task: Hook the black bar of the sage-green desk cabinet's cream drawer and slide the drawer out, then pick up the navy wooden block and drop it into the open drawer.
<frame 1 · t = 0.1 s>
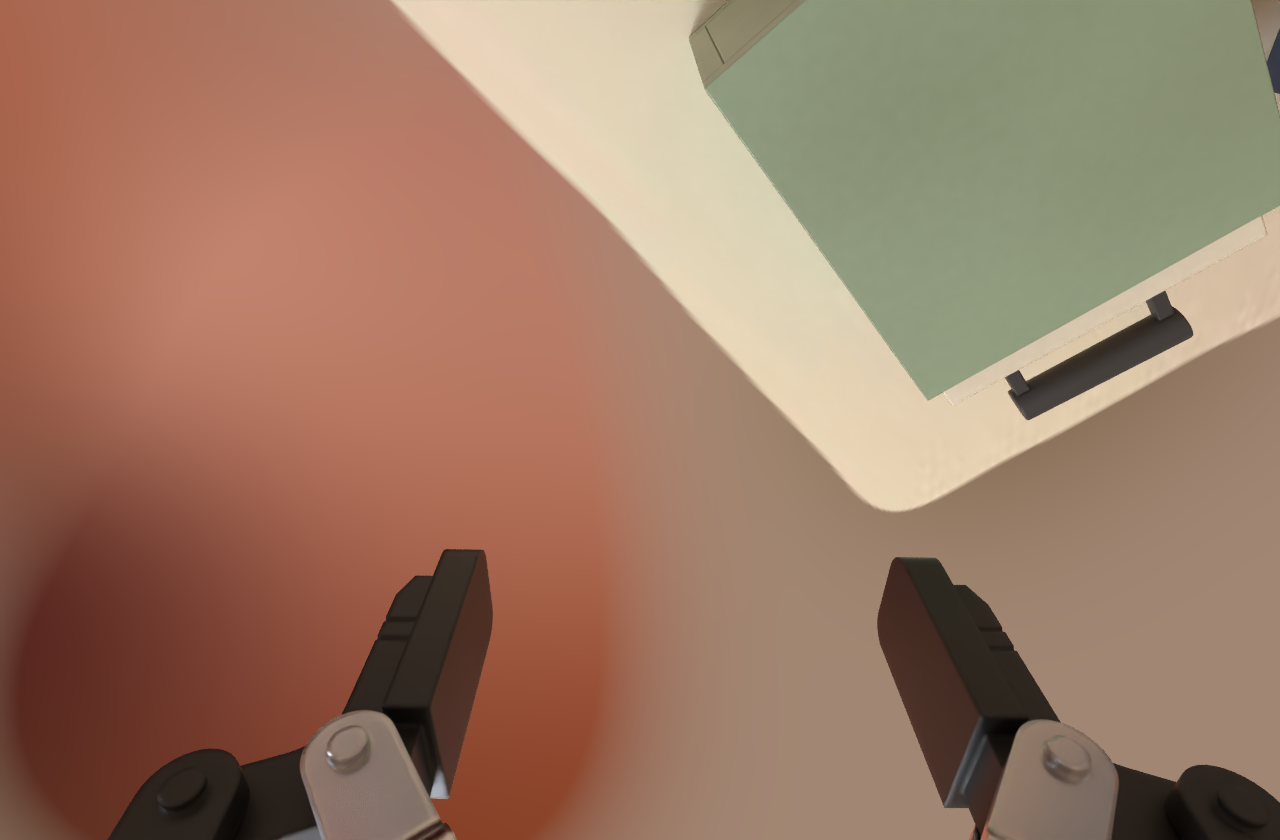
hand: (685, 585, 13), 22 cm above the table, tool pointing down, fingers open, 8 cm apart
cabinet: (914, 79, 28), on the table
drawer: (1009, 210, 26), point 5 cm above the table, slide at 0.5 cm
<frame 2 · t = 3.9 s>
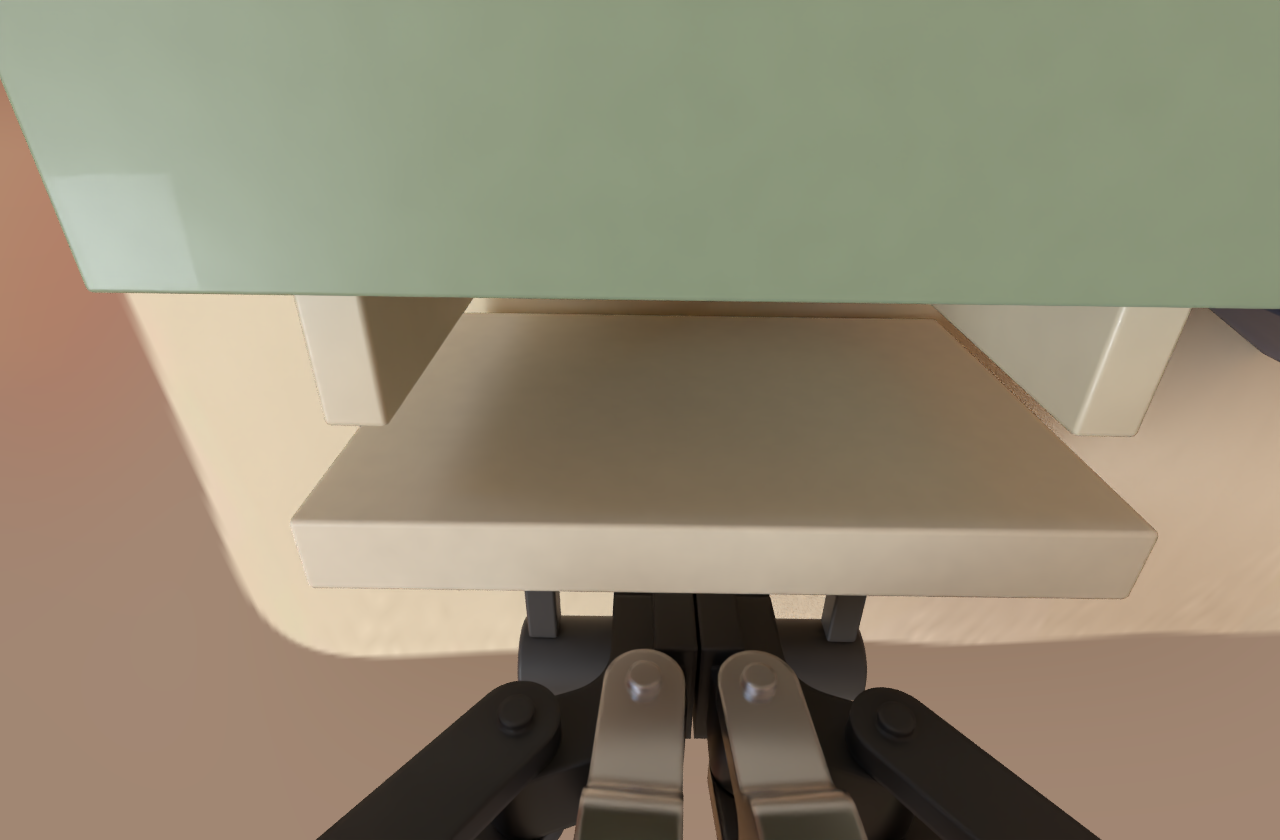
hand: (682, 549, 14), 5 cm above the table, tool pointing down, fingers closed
drawer: (712, 231, 11), point 5 cm above the table, slide at 3.4 cm, touching gripper
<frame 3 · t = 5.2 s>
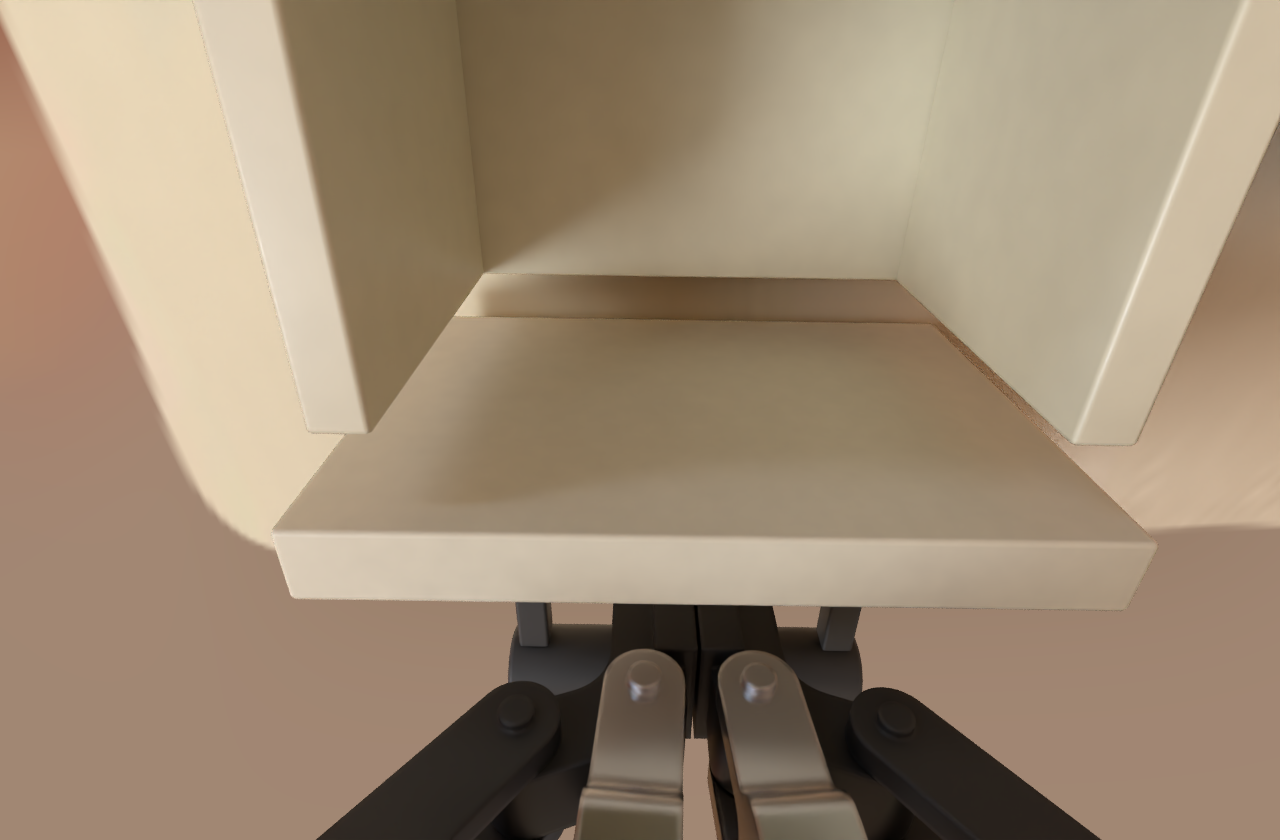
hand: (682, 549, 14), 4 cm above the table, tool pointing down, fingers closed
drawer: (705, 235, 10), point 5 cm above the table, slide at 8.0 cm, touching gripper
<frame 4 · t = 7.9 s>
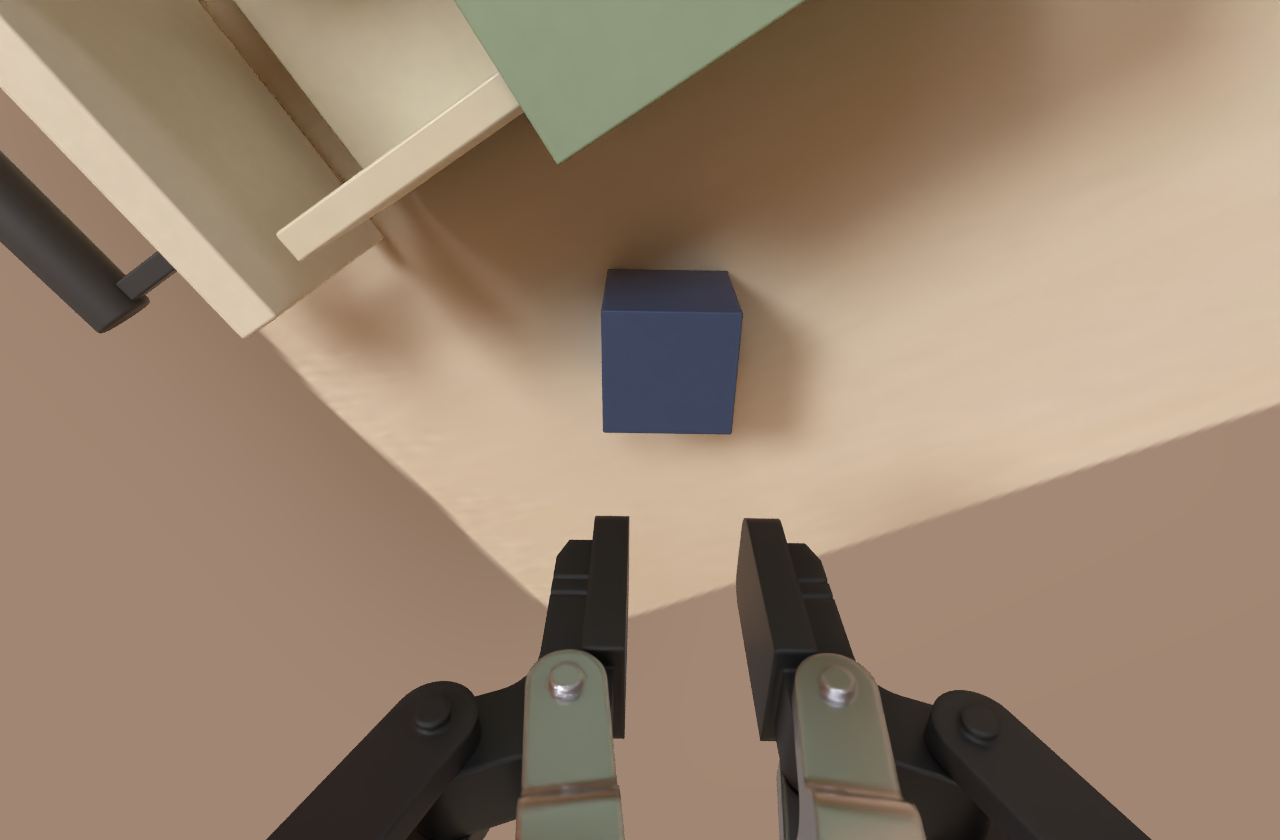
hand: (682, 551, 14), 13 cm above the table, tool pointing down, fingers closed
block: (665, 326, 26), on the table
drawer: (263, 18, 16), point 5 cm above the table, slide at 8.0 cm
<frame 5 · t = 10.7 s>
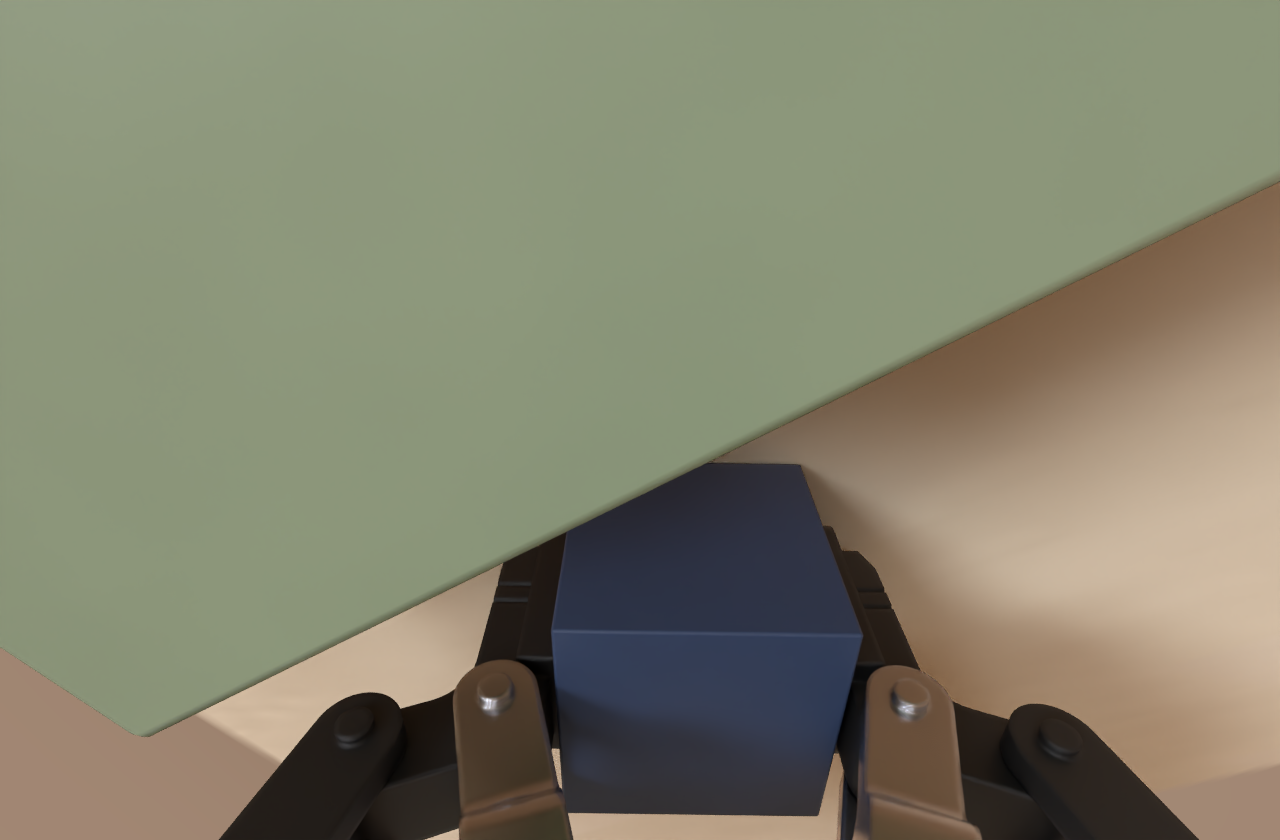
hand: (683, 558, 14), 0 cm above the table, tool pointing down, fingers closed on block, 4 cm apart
block: (684, 548, 14), on the table, touching gripper
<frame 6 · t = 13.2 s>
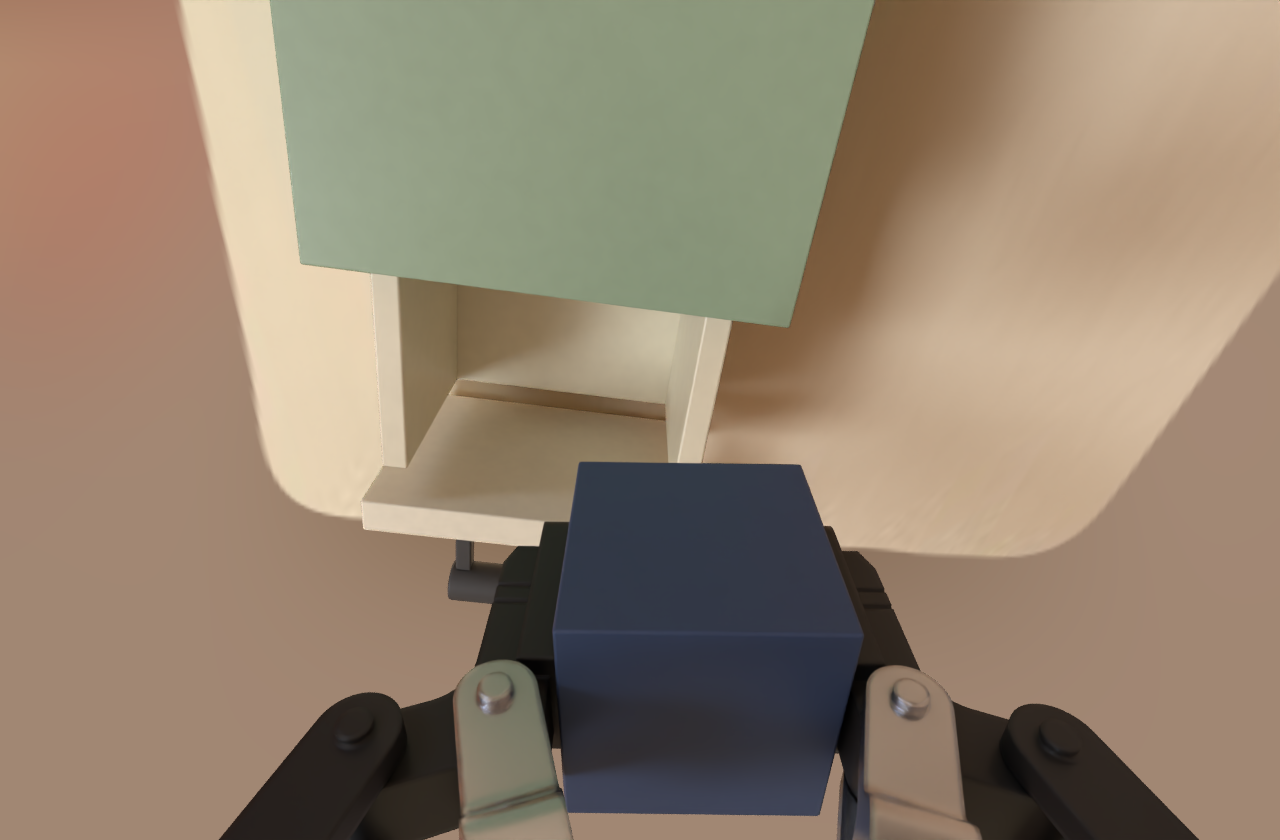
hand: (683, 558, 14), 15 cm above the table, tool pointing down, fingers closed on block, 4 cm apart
block: (684, 548, 14), point 15 cm above the table, touching gripper
drawer: (556, 389, 24), point 5 cm above the table, slide at 8.0 cm
when the fingers open (8 cm above the table, at t = 16.0 s): block drops 5 cm, resting on drawer.
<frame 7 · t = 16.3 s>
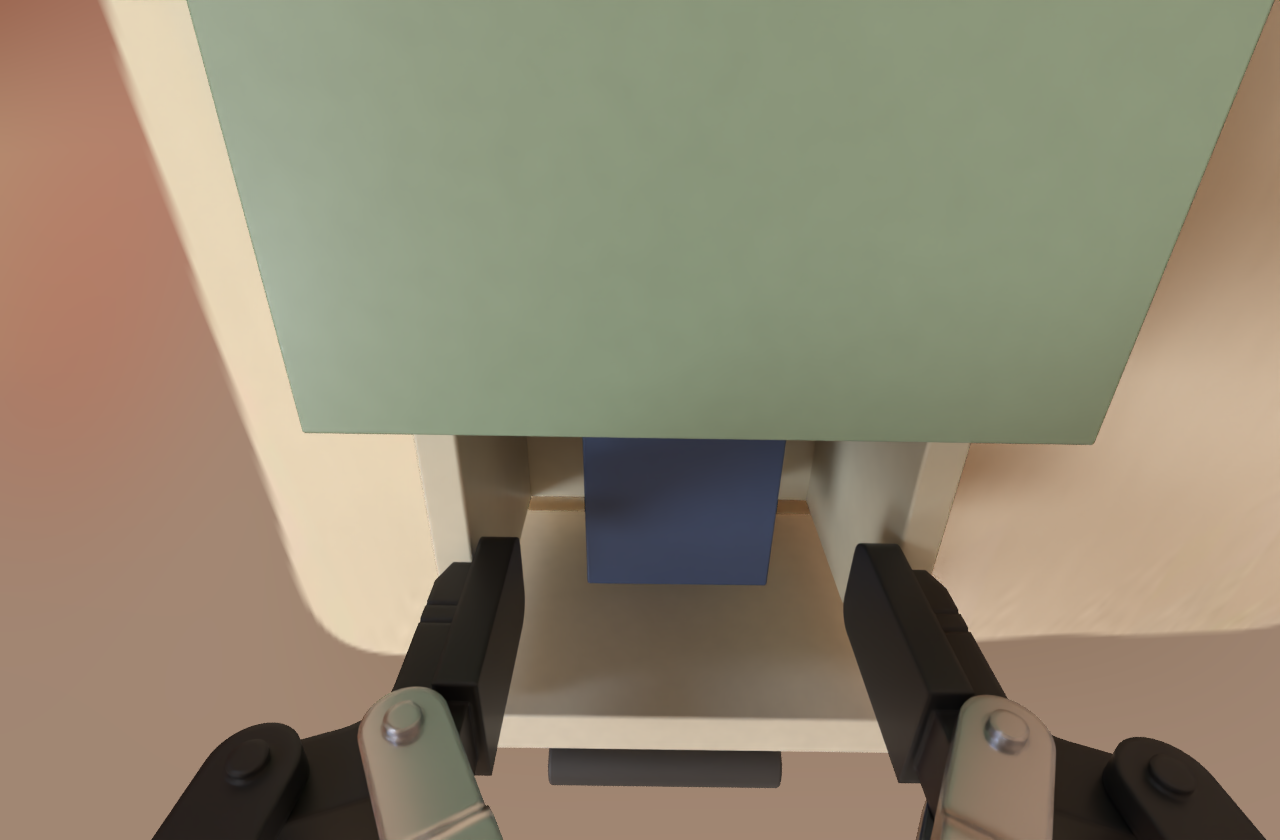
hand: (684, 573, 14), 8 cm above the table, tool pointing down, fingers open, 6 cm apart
block: (673, 419, 19), point 2 cm above the table, touching drawer
drawer: (674, 514, 17), point 5 cm above the table, slide at 8.0 cm, touching block
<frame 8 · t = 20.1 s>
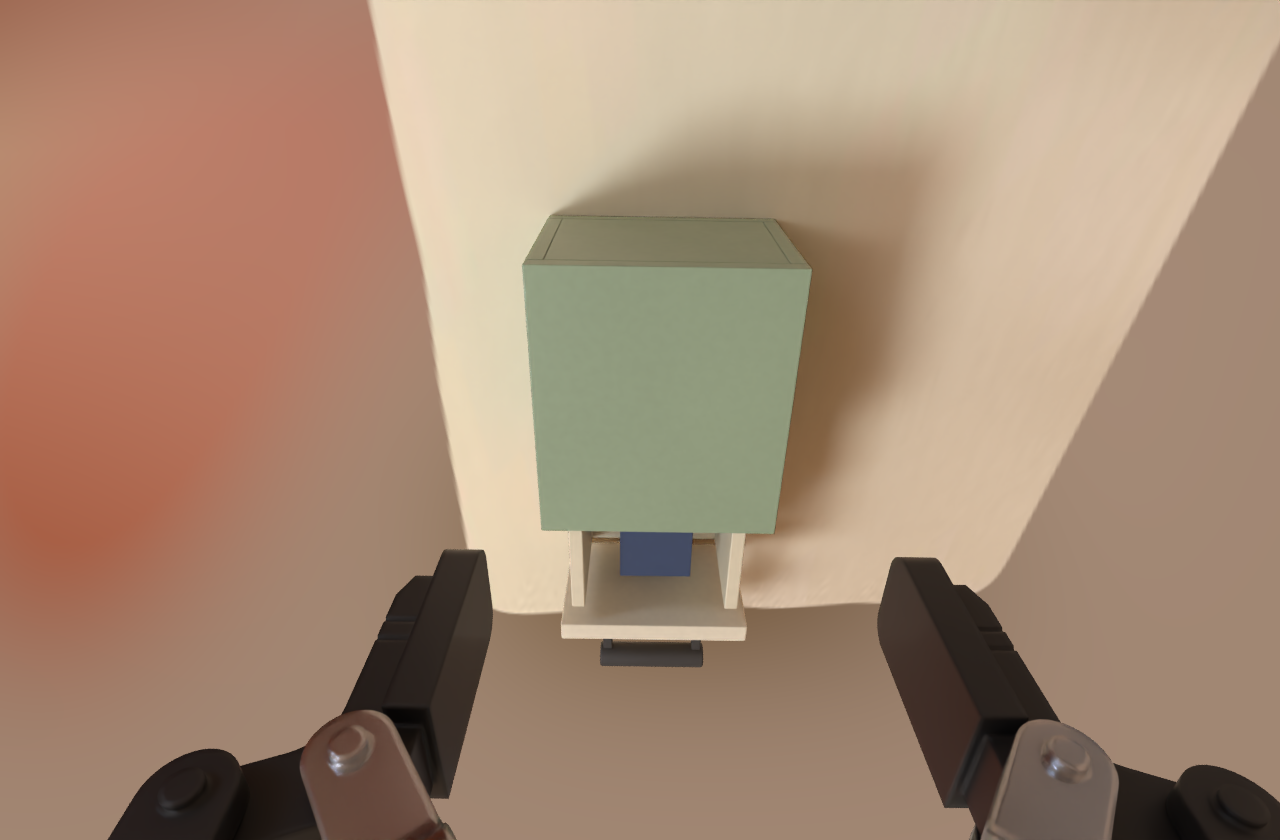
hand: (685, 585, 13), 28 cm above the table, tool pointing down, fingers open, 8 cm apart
block: (654, 505, 45), point 2 cm above the table, touching drawer
cabinet: (658, 338, 41), on the table
drawer: (654, 547, 43), point 5 cm above the table, slide at 8.0 cm, touching block
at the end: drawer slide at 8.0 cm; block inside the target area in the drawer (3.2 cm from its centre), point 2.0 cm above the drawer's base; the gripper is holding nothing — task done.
